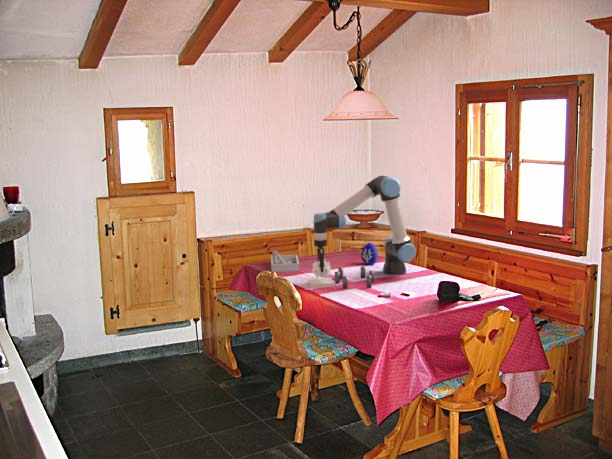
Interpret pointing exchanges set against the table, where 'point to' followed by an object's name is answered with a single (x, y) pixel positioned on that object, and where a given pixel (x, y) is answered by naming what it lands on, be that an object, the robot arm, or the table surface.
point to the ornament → (369, 254)
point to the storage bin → (285, 266)
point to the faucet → (279, 258)
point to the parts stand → (321, 282)
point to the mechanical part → (326, 269)
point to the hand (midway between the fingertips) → (321, 274)
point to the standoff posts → (345, 278)
